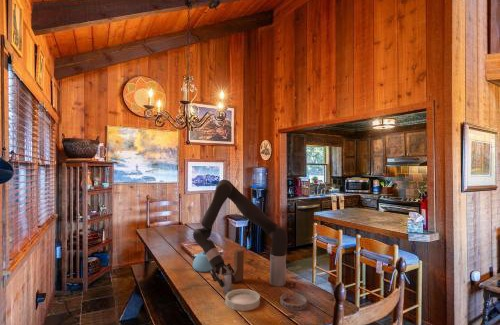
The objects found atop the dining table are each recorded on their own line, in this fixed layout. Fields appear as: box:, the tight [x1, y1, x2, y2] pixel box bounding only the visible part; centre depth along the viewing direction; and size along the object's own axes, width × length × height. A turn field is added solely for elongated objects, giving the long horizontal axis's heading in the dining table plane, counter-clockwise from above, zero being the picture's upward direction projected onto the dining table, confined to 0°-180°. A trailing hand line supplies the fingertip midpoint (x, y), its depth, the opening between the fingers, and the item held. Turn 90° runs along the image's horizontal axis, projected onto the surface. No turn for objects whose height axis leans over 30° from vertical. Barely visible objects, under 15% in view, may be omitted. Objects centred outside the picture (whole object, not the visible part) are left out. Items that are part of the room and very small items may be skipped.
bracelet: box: [279, 292, 308, 311], centre depth 144 cm, size 14×14×3 cm
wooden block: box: [229, 248, 245, 284], centre depth 171 cm, size 9×4×18 cm, turn 119°
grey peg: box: [222, 274, 232, 295], centre depth 156 cm, size 4×4×9 cm
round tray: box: [224, 288, 261, 312], centre depth 145 cm, size 17×17×3 cm
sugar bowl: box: [192, 250, 213, 273], centre depth 190 cm, size 15×15×12 cm
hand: (229, 284), depth 155 cm, fingers open, 8 cm apart
